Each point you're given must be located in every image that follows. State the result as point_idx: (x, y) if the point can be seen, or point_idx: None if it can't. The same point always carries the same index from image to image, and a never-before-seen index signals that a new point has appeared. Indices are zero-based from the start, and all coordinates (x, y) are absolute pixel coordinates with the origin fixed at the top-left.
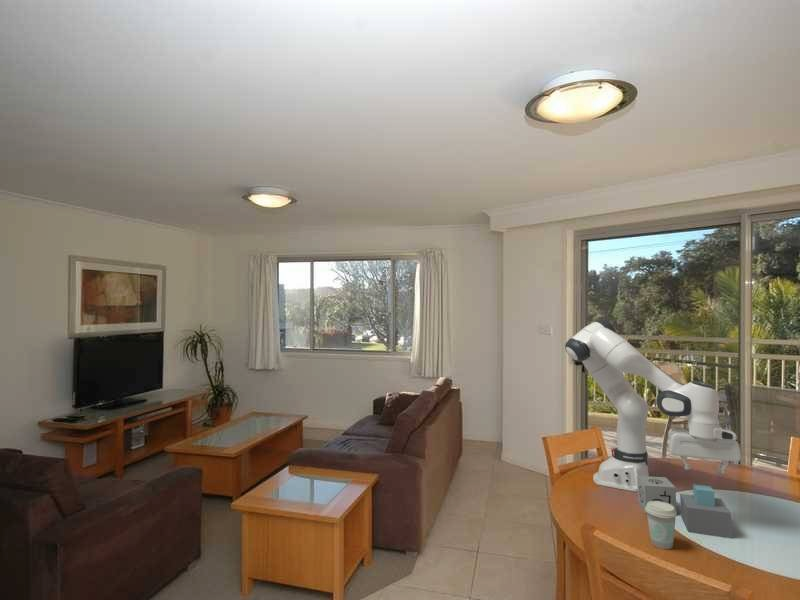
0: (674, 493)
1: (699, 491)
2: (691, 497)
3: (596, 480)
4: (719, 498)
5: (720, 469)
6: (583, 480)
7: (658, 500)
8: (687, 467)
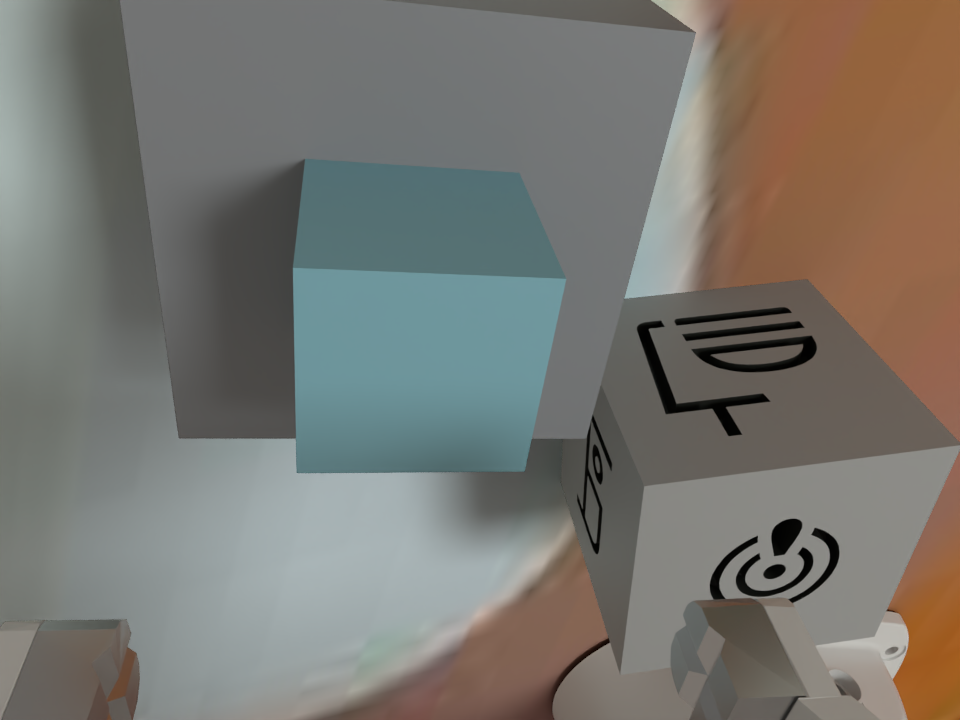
0: (637, 435)
1: (515, 263)
2: None
3: (892, 652)
4: (193, 433)
5: (44, 709)
6: (950, 642)
7: (757, 363)
8: (777, 635)
